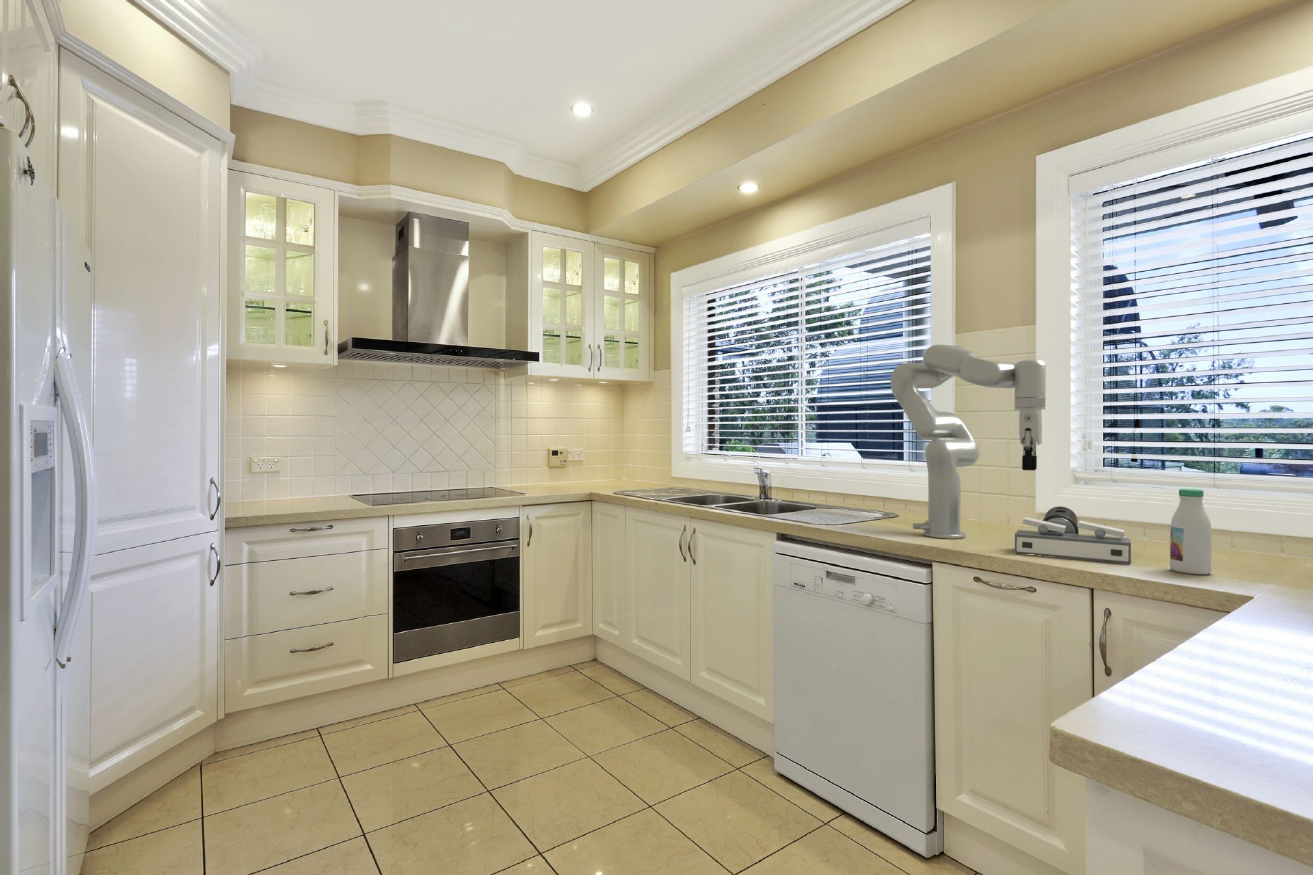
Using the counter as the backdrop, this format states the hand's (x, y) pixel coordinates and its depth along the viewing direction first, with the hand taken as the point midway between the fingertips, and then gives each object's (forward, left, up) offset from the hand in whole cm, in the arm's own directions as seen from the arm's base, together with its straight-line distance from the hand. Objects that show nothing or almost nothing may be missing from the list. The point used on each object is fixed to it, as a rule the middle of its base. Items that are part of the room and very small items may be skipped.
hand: (1029, 469), depth 183 cm
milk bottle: (+26, -24, -23) cm, 42 cm away
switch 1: (+3, -2, -17) cm, 18 cm away
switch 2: (+14, -8, -17) cm, 24 cm away
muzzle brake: (+15, +13, -24) cm, 31 cm away
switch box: (+8, -6, -23) cm, 25 cm away
